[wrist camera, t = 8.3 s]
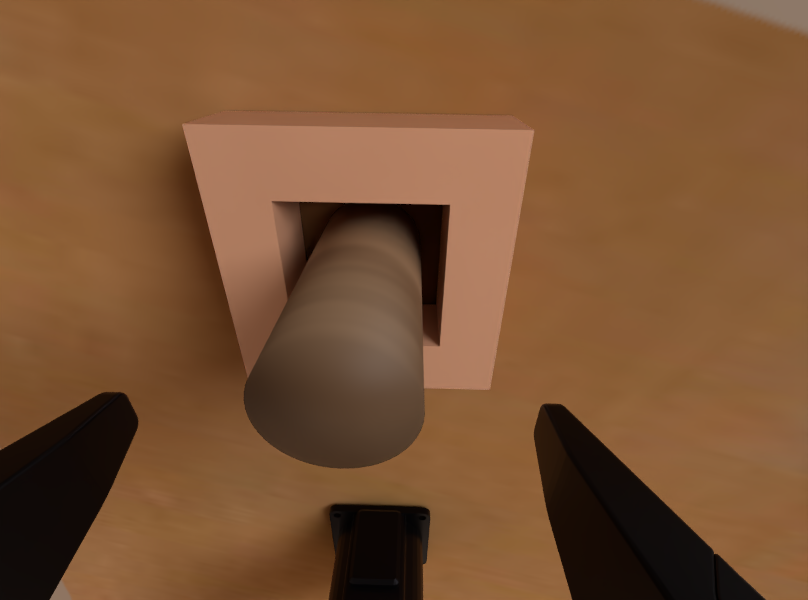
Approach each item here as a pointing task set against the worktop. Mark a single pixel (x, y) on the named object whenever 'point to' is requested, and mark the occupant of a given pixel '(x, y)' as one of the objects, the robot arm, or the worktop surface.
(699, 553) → the robot arm
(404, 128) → the socket block
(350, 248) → the peg
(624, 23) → the worktop surface
